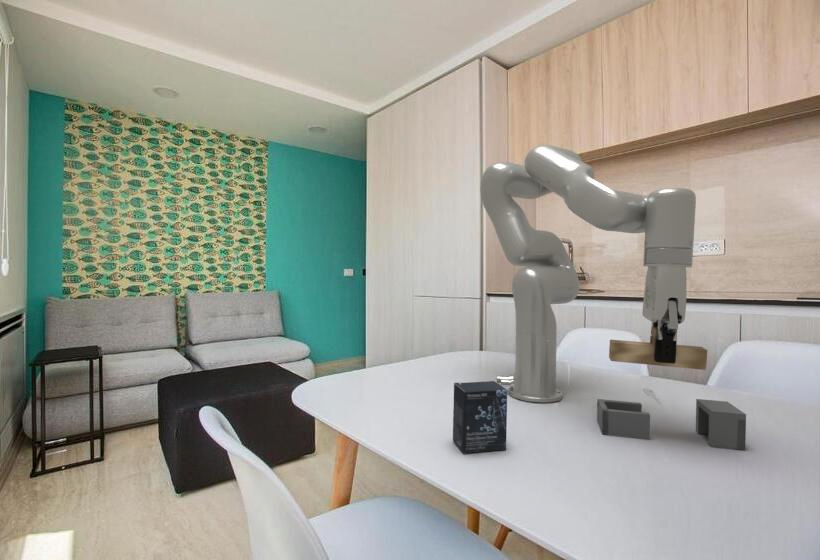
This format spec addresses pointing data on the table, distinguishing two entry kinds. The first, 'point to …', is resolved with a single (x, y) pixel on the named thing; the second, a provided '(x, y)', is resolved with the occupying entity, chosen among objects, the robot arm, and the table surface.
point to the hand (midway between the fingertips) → (662, 359)
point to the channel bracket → (721, 424)
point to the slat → (645, 353)
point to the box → (479, 416)
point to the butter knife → (651, 394)
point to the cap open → (623, 419)
